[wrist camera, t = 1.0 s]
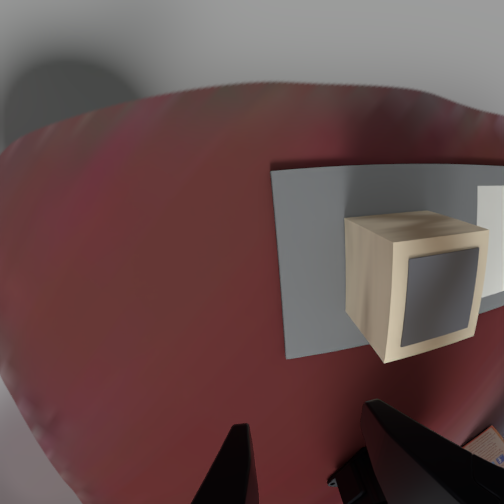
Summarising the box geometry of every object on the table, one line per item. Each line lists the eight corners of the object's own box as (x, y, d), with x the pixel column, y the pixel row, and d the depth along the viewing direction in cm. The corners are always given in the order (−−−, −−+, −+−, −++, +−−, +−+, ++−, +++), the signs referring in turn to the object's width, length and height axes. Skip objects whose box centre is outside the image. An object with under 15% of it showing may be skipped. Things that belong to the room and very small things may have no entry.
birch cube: (426, 210, 18) (490, 230, 12) (422, 295, 20) (474, 336, 14) (343, 217, 18) (394, 243, 12) (345, 310, 20) (385, 364, 14)
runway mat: (544, 169, 18) (547, 169, 18) (533, 291, 22) (536, 292, 21) (270, 171, 17) (271, 171, 17) (285, 356, 21) (286, 359, 20)
